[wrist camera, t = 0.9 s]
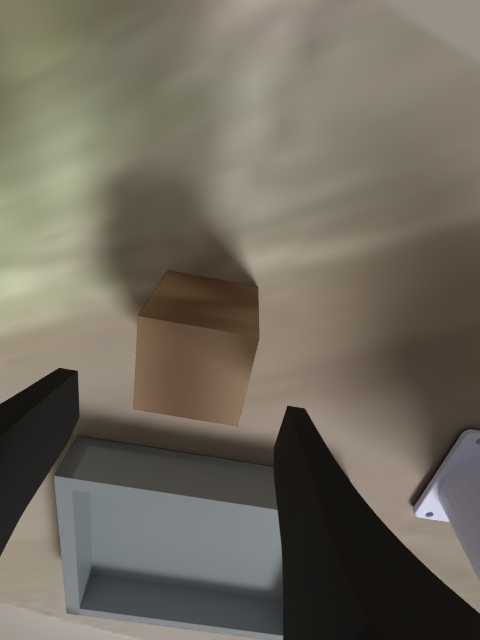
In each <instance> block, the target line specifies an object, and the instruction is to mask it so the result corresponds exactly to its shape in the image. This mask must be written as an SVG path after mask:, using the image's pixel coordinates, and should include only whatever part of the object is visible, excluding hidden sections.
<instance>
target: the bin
mask: <svg viewBox="0 0 480 640" xmlns="http://www.w3.org/2000/svg"><path fill="white" fill-rule="evenodd" d="M349 481H350V480H349ZM54 484H55V494H56V505H57V515H58V526H59V536H60V547H61V557H62V568H63V578H64V589H65V599H66V610H67V613H68V614H76V615H83V616H91V617H98V618H106V619H113V620H121V621H128V622H136V623H144V624H151V625H159V626H166V627H174V628H181V629H189V630H197V631H204V632H212V633H219V634H227V635H234V636H242V637H250V638H257V639H265V640H283V571H282V548H281V537H280V528H279V519H278V510H277V501H276V492H275V482H274V467H271V466H265V465H258V464H252V463H246V462H240V461H233V460H227V459H221V458H214V457H208V456H202V455H195V454H189V453H183V452H176V451H170V450H164V449H157V448H151V447H145V446H139V445H132V444H126V443H120V442H113V441H107V440H101V439H94V438H88V437H82V436H77V437H76V439H75V441H74V442H73V444H72V446H71V448H70V449H69V451H68V453H67V454H66V456H65V458H64V459H63V461H62V463H61V464H60V466H59V468H58V470H57V471H56V473H55V475H54Z"/></svg>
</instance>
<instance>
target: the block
mask: <svg viewBox="0 0 480 640" xmlns="http://www.w3.org/2000/svg"><path fill="white" fill-rule="evenodd" d="M258 341H259V301H258V287H254V286H249V285H244V284H238V283H233V282H227V281H222V280H217V279H211V278H206V277H200V276H195V275H190V274H184V273H179V272H173V271H167V272H166V274H165V276H164V277H163V279H162V280H161V282H160V283H159V285H158V286H157V288H156V289H155V291H154V292H153V294H152V295H151V297H150V299H149V300H148V302H147V303H146V305H145V306H144V308H143V309H142V311H141V312H140V314H139V315H138V327H137V345H136V364H135V382H134V400H133V409H134V410H140V411H147V412H153V413H159V414H165V415H171V416H177V417H183V418H189V419H195V420H201V421H207V422H213V423H220V424H226V425H232V426H238V423H239V419H240V415H241V411H242V407H243V403H244V399H245V395H246V391H247V386H248V382H249V378H250V374H251V370H252V366H253V362H254V358H255V354H256V350H257V345H258Z"/></svg>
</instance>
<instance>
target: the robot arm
mask: <svg viewBox="0 0 480 640" xmlns="http://www.w3.org/2000/svg"><path fill="white" fill-rule="evenodd" d="M79 417H80V416H79V392H78V371H75V370H69V369H63V368H58V369H57V370H55V371H53V372H52V373H50V374H48V375H47V376H45V377H44V378H42V379H40V380H39V381H37V382H36V383H34V384H32V385H31V386H29V387H28V388H26V389H24V390H23V391H21V392H19V393H18V394H16V395H15V396H13V397H11V398H10V399H8V400H6V401H5V402H3V403H1V404H0V556H1V554H2V552H3V550H4V548H5V546H6V544H7V542H8V540H9V538H10V536H11V534H12V532H13V531H14V529H15V527H16V525H17V523H18V521H19V519H20V518H21V516H22V514H23V512H24V511H25V509H26V507H27V506H28V504H29V503H30V501H31V499H32V498H33V496H34V495H35V493H36V492H37V490H38V488H39V487H40V485H41V484H42V482H43V481H44V479H45V478H46V476H47V474H48V473H49V471H50V470H51V468H52V467H53V465H54V463H55V462H56V460H57V459H58V457H59V455H60V454H61V452H62V451H63V449H64V447H65V446H66V444H67V442H68V440H69V438H70V436H71V434H72V432H73V430H74V428H75V425H76V423H77V421H78V419H79ZM274 482H275V492H276V501H277V510H278V519H279V528H280V537H281V548H282V571H283V640H480V614H479V613H478V612H477V611H476V610H475V609H474V608H472V607H471V606H470V605H469V604H468V603H467V602H465V601H464V600H463V599H462V598H461V597H460V596H458V595H457V594H456V593H455V592H454V591H453V590H451V589H450V588H449V587H448V586H447V585H446V584H444V583H443V582H442V581H441V580H440V579H439V578H438V577H437V576H436V575H435V574H433V573H432V572H431V571H430V570H429V569H428V568H427V567H426V566H425V565H424V564H423V563H422V562H421V561H420V560H419V559H418V558H417V557H416V556H415V555H414V554H413V553H412V552H411V551H410V550H409V549H408V548H407V547H406V546H405V545H404V544H403V543H402V542H401V541H400V540H399V539H398V538H397V537H396V536H395V535H394V534H393V533H392V532H391V531H390V529H389V528H388V527H387V526H386V525H385V524H384V523H383V522H382V521H381V520H380V518H379V517H378V516H377V515H376V514H375V513H374V511H373V510H372V509H371V508H370V506H369V505H368V504H367V503H366V502H365V500H364V499H363V498H362V497H361V495H360V494H359V493H358V492H357V490H356V489H355V488H354V486H353V485H352V483H351V482H350V481H349V479H348V478H347V476H346V475H345V474H344V472H343V471H342V469H341V468H340V466H339V465H338V463H337V462H336V460H335V458H334V457H333V455H332V454H331V452H330V451H329V449H328V447H327V446H326V444H325V442H324V441H323V439H322V437H321V436H320V434H319V432H318V431H317V429H316V427H315V425H314V424H313V422H312V420H311V418H310V416H309V415H308V413H307V411H306V410H305V409H304V408H298V407H292V406H287V409H286V412H285V415H284V418H283V421H282V424H281V427H280V431H279V434H278V437H277V440H276V443H275V446H274ZM413 511H414V514H415V516H417V517H420V518H426V519H432V520H439V521H445V522H450V523H451V525H452V527H453V529H454V531H455V533H456V535H457V537H458V539H459V541H460V543H461V545H462V547H463V549H464V551H465V553H466V555H467V557H468V559H469V561H470V563H471V565H472V567H473V569H474V571H475V573H476V575H477V577H478V579H479V581H480V431H479V430H466V431H464V432H463V433H462V434H461V436H460V437H459V439H458V440H457V442H456V443H455V445H454V446H453V448H452V449H451V451H450V452H449V454H448V455H447V457H446V458H445V460H444V462H443V463H442V465H441V466H440V468H439V469H438V471H437V472H436V474H435V475H434V477H433V478H432V480H431V481H430V483H429V484H428V486H427V488H426V489H425V491H424V492H423V494H422V495H421V497H420V498H419V500H418V501H417V503H416V504H415V506H414V507H413Z"/></svg>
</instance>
